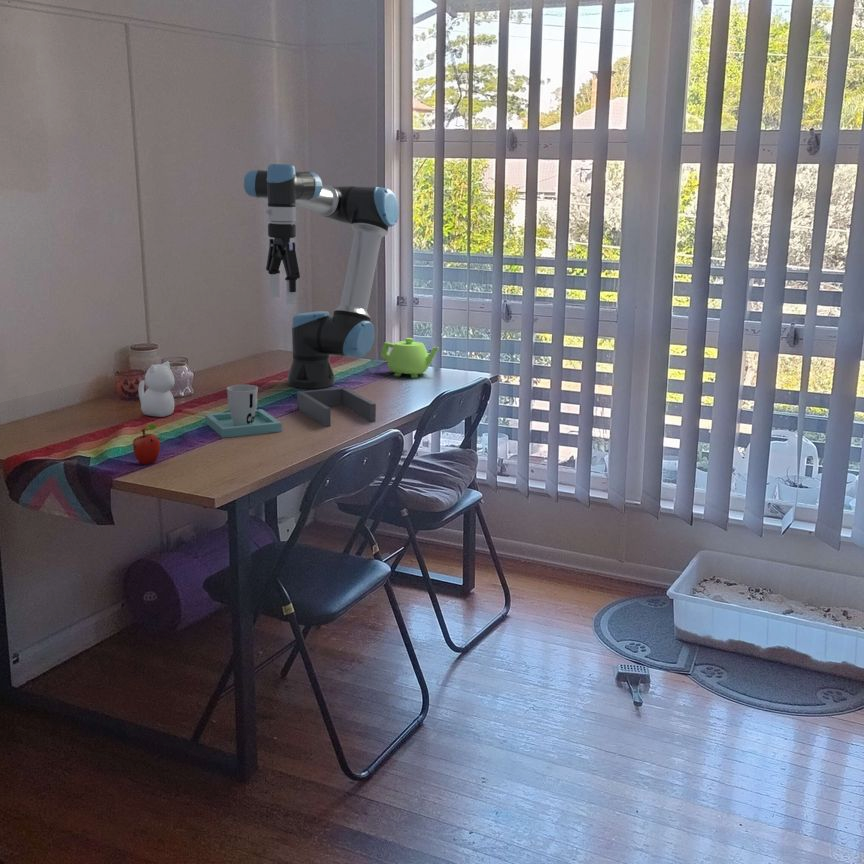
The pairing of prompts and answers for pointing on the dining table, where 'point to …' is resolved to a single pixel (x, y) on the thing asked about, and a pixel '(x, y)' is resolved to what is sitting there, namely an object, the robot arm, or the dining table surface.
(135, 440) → the apple
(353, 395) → the bay
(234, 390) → the cup
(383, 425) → the dining table surface
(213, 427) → the tray
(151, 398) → the cat figurine
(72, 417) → the dining table surface
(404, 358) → the teapot
